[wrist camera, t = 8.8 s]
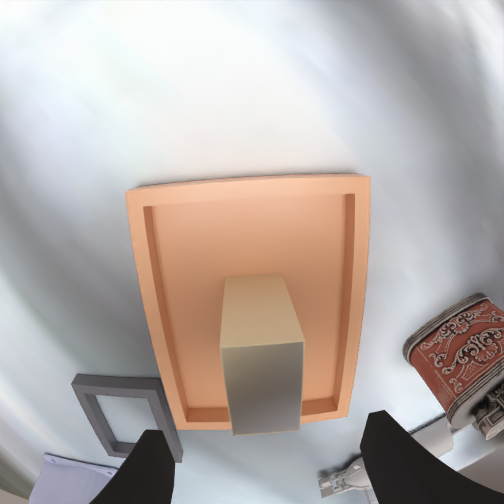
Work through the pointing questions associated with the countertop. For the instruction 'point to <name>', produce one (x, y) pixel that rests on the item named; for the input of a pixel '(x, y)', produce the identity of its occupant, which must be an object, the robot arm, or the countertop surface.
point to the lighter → (464, 362)
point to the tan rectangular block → (261, 355)
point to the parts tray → (252, 263)
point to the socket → (125, 388)
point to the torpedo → (430, 437)
